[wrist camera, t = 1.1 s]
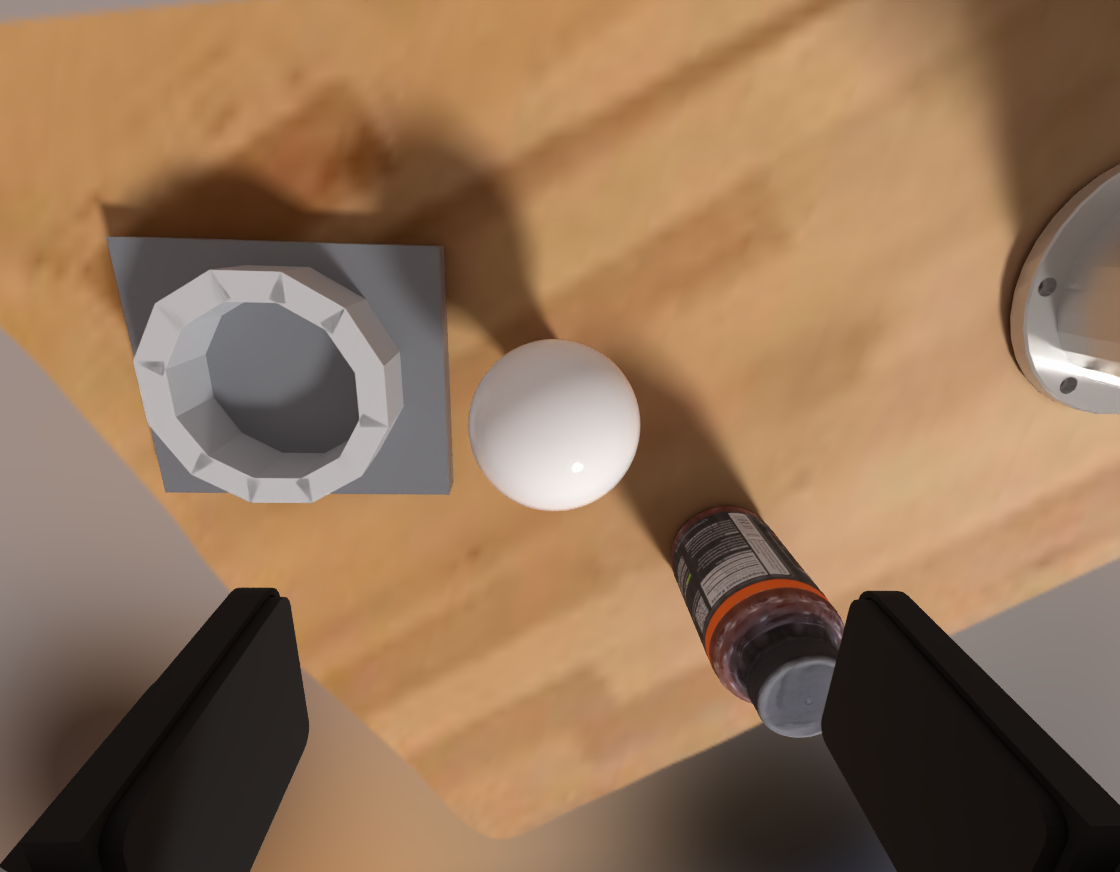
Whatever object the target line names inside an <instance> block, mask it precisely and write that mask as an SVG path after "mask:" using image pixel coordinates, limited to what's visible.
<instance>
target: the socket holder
mask: <svg viewBox="0 0 1120 872" xmlns="http://www.w3.org/2000/svg"><path fill="white" fill-rule="evenodd" d="M106 238H107V243H108V247H109V251H110V256H111V260H112V264H113V269H114V273H115V277H116V281H117V286H118V290H119V294H120V299H121V303H122V307H123V312H124V316H125V320H126V324H127V329H128V333H129V337H130V342H131V346H132V350H133V355H134V360H133V363H134V367H135V372H136V376H137V380H138V384H139V389H140V393H141V397H142V402H143V406H144V410H145V414H146V419H147V423H148V425H149V426H150V428H151V432H152V436H153V441H154V445H155V449H156V453H157V458H158V462H159V466H160V471H161V475H162V479H163V484H164V488H165V492H193V493H232V494H234V495H236V496H238V497H240V498H242V499H244V500H246V501H249V502H250V503H313V502H315V501H317V500H318V499H320V498H322V497H324V496H326V495H328V494H445V495H449V494H450V491H451V488H452V484H453V464H452V438H451V412H450V385H449V359H448V333H447V307H446V281H445V255H444V246H435V245H402V244H369V243H336V242H303V241H270V240H237V239H204V238H172V237H139V236H115V237H106Z"/></svg>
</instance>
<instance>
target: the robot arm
mask: <svg viewBox="0 0 1120 872" xmlns="http://www.w3.org/2000/svg"><path fill="white" fill-rule="evenodd" d="M1010 323H1011V341H1012V345H1013V349H1014V353H1015V357H1016V360H1017V362H1018V364H1019V366H1020V368H1021V370H1022V372H1023V374H1024V376H1025V377H1026V378H1027V379H1028V381H1029V382H1030V383H1031V384H1032V385H1033V386H1034V387H1035V388H1036V389H1037V390H1038V391H1039V392H1040V393H1042V394H1043V395H1045V396H1047V397H1048V398H1050V399H1051V400H1053V401H1055V402H1057V403H1060V404H1063V405H1066V406H1068V407H1071V408H1074V409H1077V410H1081V411H1085V412H1090V413H1094V414H1120V164H1119V165H1117V166H1115V167H1113V168H1112V169H1110V170H1108V171H1106V172H1105V173H1103V174H1101V175H1099V176H1098V177H1097V178H1095V179H1094V180H1093V181H1092V182H1090V183H1089V184H1088V185H1086V186H1085V187H1084V188H1083V189H1081V190H1080V191H1079V192H1078V193H1076V194H1075V195H1074V196H1073V197H1072V198H1071V199H1070V200H1069V201H1068V202H1067V203H1066V204H1065V205H1064V206H1063V207H1062V209H1061V210H1060V211H1059V212H1058V213H1057V214H1056V215H1055V216H1054V217H1053V218H1052V220H1051V221H1050V222H1049V224H1048V225H1047V227H1046V228H1045V229H1044V231H1043V232H1042V233H1041V235H1040V236H1039V238H1038V239H1037V240H1036V242H1035V244H1034V246H1033V248H1032V250H1031V252H1030V254H1029V256H1028V257H1027V259H1026V261H1025V263H1024V265H1023V268H1022V270H1021V273H1020V276H1019V279H1018V282H1017V285H1016V288H1015V291H1014V296H1013V302H1012V309H1011V315H1010ZM821 730H822V735H823V738H824V741H825V743H826V746H827V747H828V749H829V751H830V753H831V754H832V756H833V758H834V760H835V761H836V763H837V765H838V767H839V769H840V771H841V772H842V774H843V776H844V778H845V779H846V781H847V783H848V785H849V787H850V788H851V790H852V792H853V794H854V796H855V797H856V799H857V801H858V803H859V804H860V806H861V808H862V810H863V811H864V813H865V815H866V817H867V819H868V820H869V822H870V824H871V826H872V828H873V829H874V831H875V833H876V835H877V837H878V838H879V840H880V842H881V843H882V845H883V847H884V849H885V851H886V852H887V854H888V856H889V858H890V860H891V862H892V863H893V865H894V867H895V869H896V870H897V872H1120V805H1119V804H1118V803H1117V802H1116V801H1115V800H1114V799H1113V798H1112V797H1111V796H1110V795H1109V794H1108V793H1107V792H1106V791H1105V790H1104V789H1103V788H1102V787H1101V786H1100V785H1099V784H1098V783H1097V782H1096V781H1095V780H1094V779H1093V778H1092V777H1091V776H1090V775H1089V774H1088V773H1087V772H1086V771H1085V770H1084V769H1083V768H1082V767H1081V766H1080V765H1079V764H1078V763H1076V761H1075V760H1074V759H1073V758H1071V757H1070V755H1068V753H1066V752H1065V751H1064V750H1063V749H1062V748H1061V747H1060V746H1059V745H1058V744H1057V743H1056V742H1055V741H1054V740H1053V739H1052V738H1051V737H1050V736H1049V735H1048V734H1047V733H1046V732H1045V731H1044V730H1043V729H1042V728H1041V727H1040V726H1039V725H1038V724H1037V723H1036V722H1035V721H1034V720H1033V719H1032V718H1031V717H1030V716H1029V715H1028V714H1027V713H1026V712H1025V711H1024V710H1023V709H1022V708H1021V707H1020V706H1019V705H1018V704H1017V703H1016V702H1015V701H1014V700H1013V699H1012V698H1011V697H1010V696H1009V695H1008V694H1007V693H1006V692H1004V690H1003V689H1001V687H1000V686H999V685H998V684H997V683H996V682H995V681H994V680H993V679H992V678H991V677H990V676H989V675H987V673H986V672H985V671H984V670H982V668H981V667H980V666H978V665H977V663H975V662H974V661H973V660H972V659H971V658H970V657H969V656H968V655H967V654H966V653H965V652H964V651H963V650H962V649H961V648H960V647H959V646H958V645H957V644H956V643H955V642H954V641H953V640H952V639H951V638H950V637H949V636H948V635H947V634H946V633H945V632H944V631H943V630H942V629H941V628H940V627H939V626H938V625H937V624H936V623H935V622H934V621H933V620H932V619H931V618H930V617H929V616H928V615H927V614H926V613H925V612H924V611H923V610H922V609H921V608H920V607H919V606H918V605H917V604H916V603H915V602H914V601H913V600H912V599H911V598H910V597H909V596H908V595H906V594H905V593H903V592H900V591H866V592H863V593H862V594H861V595H860V597H859V600H854V601H853V602H852V603H851V605H850V608H849V612H848V616H847V620H846V624H845V628H844V632H843V635H842V639H841V643H840V647H839V651H838V655H837V659H836V663H835V667H834V671H833V675H832V679H831V683H830V687H829V691H828V695H827V699H826V703H825V707H824V711H823V715H822V719H821ZM308 733H309V720H308V713H307V707H306V701H305V694H304V688H303V681H302V675H301V669H300V662H299V656H298V650H297V643H296V637H295V631H294V624H293V618H292V611H291V605H290V601H289V600H288V598H286V597H280V595H279V592H278V591H277V589H275V588H236V589H234V590H233V591H232V592H231V593H230V594H229V595H228V596H227V598H226V599H225V600H224V601H223V602H222V604H221V605H220V606H219V607H218V608H217V610H216V611H215V612H214V613H213V614H212V615H211V617H210V618H209V619H208V620H207V621H206V623H205V624H204V625H203V626H202V628H200V630H199V631H198V632H197V633H196V634H195V636H194V637H193V638H192V639H191V641H190V642H189V643H188V644H187V645H186V646H185V648H184V649H183V650H182V651H181V652H180V653H179V655H178V656H177V657H176V658H175V659H174V661H173V662H172V663H171V664H170V665H169V667H168V668H167V669H166V670H165V671H164V673H163V674H162V675H161V676H160V677H159V678H158V680H157V681H156V682H155V683H154V684H153V685H151V686H150V688H149V689H148V690H147V691H146V692H145V693H144V694H143V696H142V697H141V698H140V699H139V700H138V702H137V703H136V704H135V705H134V706H133V708H132V709H131V710H130V711H129V712H128V713H127V715H126V716H125V717H124V718H123V719H122V721H121V722H120V723H119V724H118V725H117V726H116V728H115V729H114V730H113V731H112V733H111V734H110V735H109V736H108V737H107V738H106V739H105V741H104V742H103V743H102V744H101V745H100V747H99V748H98V749H97V750H96V751H95V752H94V754H93V755H92V756H91V757H90V758H89V760H88V761H87V762H86V763H85V764H84V765H83V767H82V768H81V769H80V770H79V771H78V773H77V774H76V775H75V776H74V777H73V779H72V780H71V781H70V782H69V783H68V784H67V786H66V787H65V788H64V789H63V790H62V792H61V793H60V794H59V795H58V796H57V797H56V799H55V800H54V801H53V802H52V803H51V805H50V806H49V807H48V808H47V809H46V811H45V812H44V813H43V814H42V815H41V817H40V818H39V819H38V820H37V821H36V822H35V824H34V825H33V826H32V827H31V828H30V829H29V831H28V832H27V833H26V834H25V835H24V837H23V838H22V839H21V840H20V841H19V843H18V844H17V845H16V846H15V847H14V849H13V850H12V851H11V852H10V853H9V854H8V855H7V857H6V858H5V859H4V860H3V861H2V863H1V864H0V872H250V869H251V868H252V865H253V863H254V861H255V859H256V856H257V854H258V852H259V849H260V847H261V845H262V843H263V841H264V838H265V836H266V834H267V832H268V829H269V827H270V825H271V823H272V821H273V818H274V816H275V814H276V812H277V809H278V807H279V805H280V803H281V800H282V798H283V796H284V793H285V791H286V789H287V787H288V784H289V782H290V780H291V778H292V776H293V774H294V771H295V769H296V766H297V764H298V762H299V760H300V758H301V756H302V753H303V751H304V748H305V746H306V743H307V739H308Z"/></svg>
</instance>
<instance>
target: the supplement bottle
mask: <svg viewBox="0 0 1120 872" xmlns="http://www.w3.org/2000/svg"><path fill="white" fill-rule="evenodd" d="M671 564H672V569H673V572H674V576H675V578H676V581H677V583H678V586H679V588H680V591H681V593H682V596H683V598H684V600H685V603H686V606H687V608H688V610H689V613H690V615H691V617H692V620H693V622H694V625H695V627H696V630H697V632H698V634H699V637H700V639H701V642H702V644H703V646H704V649H705V652H706V654H707V656H708V658H709V661H710V663H711V666H712V668H713V670H714V672H715V673H716V675H717V677H718V678H719V680H720V681H721V683H722V684H723V685H724V686H725V687H726V688H727V689H728V690H729V691H730V692H731V693H733V694H734V695H735V696H737V697H738V698H740V699H741V700H744V701H746V702H749V703H752V704H753V705H754V707H755V708H756V710H757V712H758V714H759V716H760V718H761V720H762V721H763V723H764V724H765V725H766V726H767V727H768V728H769V729H772V730H773V731H774V732H777V733H778V734H781V735H785V736H788V737H798V738H801V737H811V736H814V735H818V734H820V733H822V730H821V719H822V715H823V711H824V707H825V703H826V699H827V695H828V691H829V687H830V683H831V679H832V675H833V671H834V667H835V663H836V659H837V655H838V651H839V647H840V643H841V639H842V635H843V632H844V628H845V627H844V624H843V622H842V620H841V617H840V616H839V615H838V613H837V611H836V610H835V609H834V607H833V606H832V605H831V604H830V602H829V601H828V600H827V598H826V597H825V595H824V594H823V593H822V592H821V591H820V590H819V588H818V587H817V585H816V584H815V583H814V582H813V581H812V580H811V578H810V577H809V576H808V575H807V573H806V572H805V571H804V570H803V569H802V567H801V566H800V565H799V564H798V562H797V561H796V560H795V559H794V557H793V556H792V555H791V554H790V553H789V551H788V550H787V549H786V547H785V546H784V545H783V544H782V542H781V541H780V540H779V539H778V537H777V536H776V535H775V533H774V532H773V531H772V530H771V529H770V528H769V526H768V525H767V524H766V523H765V522H764V521H763V520H762V519H761V518H760V517H758V516H757V515H755V514H754V513H752V512H751V511H749V510H746V509H743V508H739V507H731V506H723V507H715V508H710V509H708V510H706V511H703V512H700V513H699V514H697V515H696V516H694V517H692V518H691V519H689V520H688V521H687V522H686V523H685V524H684V525H683V526H682V528H681V529H680V530H679V532H678V533H677V535H676V537H675V539H674V542H673V544H672V549H671Z"/></svg>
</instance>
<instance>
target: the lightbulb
mask: <svg viewBox="0 0 1120 872" xmlns="http://www.w3.org/2000/svg"><path fill="white" fill-rule="evenodd" d="M468 427H469V438H470V443H471V448H472V451H473V454H474V457H475V459H476V461H477V464H478V466H479V467H480V469H481V471H482V472H483V474H484V475H485V477H486V478H487V479H488V480H489V481H490V483H491V484H492V485H493V486H494V487H495V488H496V489H497V490H499V491H500V492H501V493H502V494H504V495H505V496H506V497H508V498H510V499H511V500H513V501H515V502H517V503H519V504H522V505H524V506H527V507H530V508H534V509H538V510H545V511H564V510H571V509H575V508H579V507H582V506H585V505H588V504H590V503H592V502H594V501H596V500H598V499H599V498H601V497H602V496H604V495H605V494H607V493H608V492H609V491H610V490H612V489H613V488H614V487H615V486H616V485H617V484H618V483H619V481H620V480H621V479H622V478H623V476H624V475H625V474H626V472H627V470H628V469H629V467H630V465H631V463H632V461H633V459H634V456H635V454H636V451H637V447H638V443H639V438H640V412H639V407H638V402H637V399H636V396H635V393H634V391H633V389H632V387H631V385H630V383H629V381H628V379H627V378H626V376H625V375H624V374H623V372H622V371H621V370H620V369H619V368H618V366H617V365H616V364H615V363H614V362H613V361H611V360H610V359H609V358H608V357H607V356H605V355H604V354H602V353H601V352H599V351H598V350H596V349H594V348H592V347H590V346H587V345H585V344H582V343H579V342H575V341H571V340H565V339H544V340H538V341H534V342H530V343H527V344H524V345H521V346H519V347H517V348H515V349H513V350H511V351H510V352H508V353H507V354H505V355H504V356H502V357H501V358H500V359H499V360H497V361H496V362H495V363H494V364H493V365H492V366H491V367H490V369H489V370H488V371H487V372H486V373H485V375H484V376H483V378H482V379H481V381H480V383H479V385H478V387H477V389H476V391H475V393H474V396H473V399H472V402H471V406H470V412H469V422H468Z"/></svg>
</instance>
